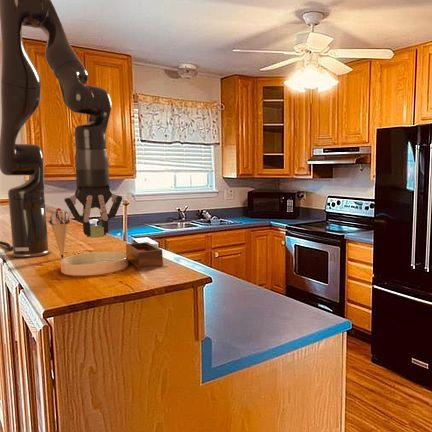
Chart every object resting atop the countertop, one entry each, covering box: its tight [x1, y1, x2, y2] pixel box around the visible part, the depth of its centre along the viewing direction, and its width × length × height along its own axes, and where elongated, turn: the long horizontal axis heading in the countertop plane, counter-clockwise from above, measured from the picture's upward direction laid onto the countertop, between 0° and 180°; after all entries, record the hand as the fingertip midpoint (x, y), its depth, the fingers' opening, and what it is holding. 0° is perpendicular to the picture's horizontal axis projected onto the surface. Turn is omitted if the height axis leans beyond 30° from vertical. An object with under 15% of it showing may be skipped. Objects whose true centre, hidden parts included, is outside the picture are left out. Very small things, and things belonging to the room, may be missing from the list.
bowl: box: [59, 250, 130, 276], centre depth 111 cm, size 16×16×3 cm
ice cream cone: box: [48, 207, 72, 259], centre depth 121 cm, size 6×6×15 cm
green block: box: [90, 224, 105, 239], centre depth 108 cm, size 4×3×2 cm
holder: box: [125, 241, 164, 270], centre depth 116 cm, size 14×6×5 cm, turn 34°
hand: (96, 235), depth 108 cm, fingers closed on green block, 3 cm apart
